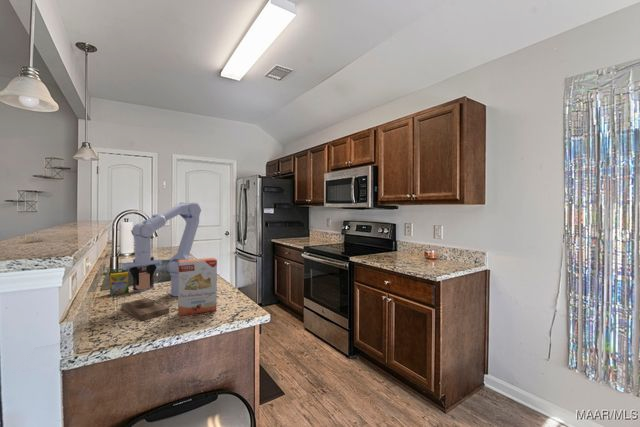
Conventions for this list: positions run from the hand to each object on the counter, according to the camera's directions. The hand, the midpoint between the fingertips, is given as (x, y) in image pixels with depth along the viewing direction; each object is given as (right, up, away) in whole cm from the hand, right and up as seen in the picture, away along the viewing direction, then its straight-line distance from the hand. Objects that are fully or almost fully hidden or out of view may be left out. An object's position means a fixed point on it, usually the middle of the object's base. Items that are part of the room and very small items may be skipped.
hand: (143, 284), depth 126 cm
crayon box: (-21, -9, +16) cm, 28 cm away
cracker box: (+26, -10, -7) cm, 28 cm away
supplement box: (-13, -8, +23) cm, 28 cm away
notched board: (+4, -9, -6) cm, 12 cm away
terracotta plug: (0, -2, 0) cm, 2 cm away
